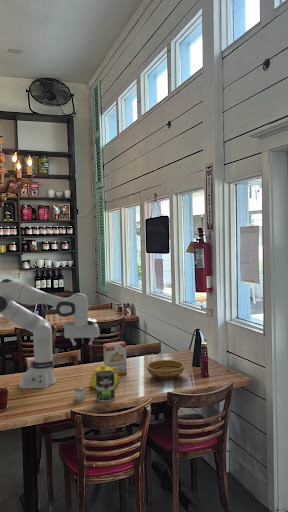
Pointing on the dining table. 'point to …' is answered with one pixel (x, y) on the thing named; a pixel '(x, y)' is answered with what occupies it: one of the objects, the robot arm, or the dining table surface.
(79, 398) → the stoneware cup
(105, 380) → the coffee can
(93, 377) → the teapot
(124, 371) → the cracker box
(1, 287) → the robot arm
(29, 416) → the dining table surface
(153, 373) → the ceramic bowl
